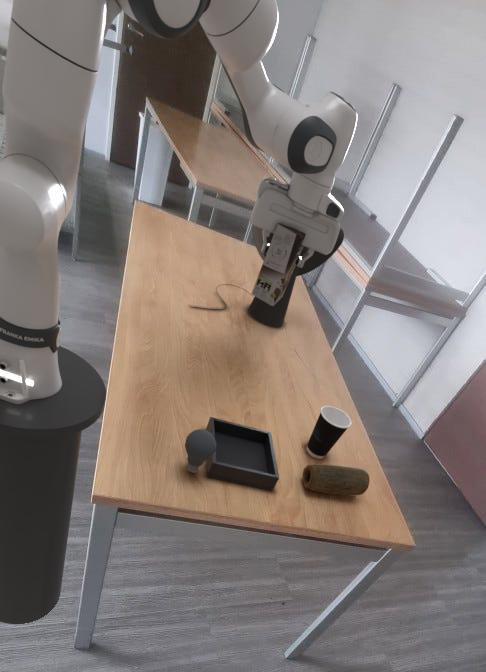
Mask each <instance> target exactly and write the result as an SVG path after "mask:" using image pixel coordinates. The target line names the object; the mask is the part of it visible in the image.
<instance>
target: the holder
mask: <svg viewBox="0 0 486 672" xmlns="http://www.w3.org/2000/svg"><path fill="white" fill-rule="evenodd" d="M205 430H207V431H208V432H210V433H211V434H212V435H213V436H214V438H215V441H216V450H215V453H214V454H213V456H212V457H211V458H209V459H207V460H206V477H207V478H212V479H217V480H220V481H225V482H229V483H233V484H234V483H235V484H239V485H244V486H248V487H252V488H257V489H261V490H267V491H271V492H273V491H274V488H275V487H276V486H277V483H278V481H279V480H280V475H279V469H278V464H277V458H276V453H275V446H274V441H273V437H272V432H271V431H267V430H264V429H259V428H255V427H251V426H248V425H244V424H240V423H236V422H233V421H229V420H225V419H221V418H217V417H213V416H210V417H209V419H208V422H207V425H206V427H205Z"/></svg>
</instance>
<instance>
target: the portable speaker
mask: <svg viewBox="0 0 486 672" xmlns="http://www.w3.org/2000/svg"><path fill="white" fill-rule="evenodd" d="M302 481H303V485H304V487H305V488H306V489H307V490H310V491H312V492H317V493H322V494H323V493H324V494H331V495H341V496H361V495H363V494H365V493H366V492H367V491H368V488H369V486H370V476H369V473H368V472H367V471H366V470H365V469H362V468H357V467H351V466H343V465H334V464H321V463H320V464H317V463H314V464H308V465H306V466H305V467H304V468H303V471H302Z"/></svg>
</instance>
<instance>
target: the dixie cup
mask: <svg viewBox="0 0 486 672" xmlns="http://www.w3.org/2000/svg"><path fill="white" fill-rule="evenodd" d="M352 424H353V423H352V419H351V418H350V416H349V415H348V414H347V413H346V412H345V411H343V410H342V409H340V408H338V407H336V406H332V405H324V406H322V407H321V408H320V413H319V415H318V418H317V420H316V422H315V425H314V427H313V429H312V431H311V434H310V437H309V439H308V441H307V446H306V452H307V453H308V455H310V456H311V457H312V458H315V459H318V460H321V459H324V457H326V456H327V455H328V453H330V451H331V450H332V448H333V447H334V446H335V445H336V443H338V441H339V440H340V439H341V437H342V436H343V435H344V433H345V432H346V431H347V430H348V429H349V428H351V426H352Z"/></svg>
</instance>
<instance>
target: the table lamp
mask: <svg viewBox="0 0 486 672" xmlns="http://www.w3.org/2000/svg"><path fill="white" fill-rule="evenodd" d="M262 231H263V229H261V228H259V227H257V226H254V225H253V224H252V237H253V241H254V245H255V248H256V251H257V253H258V255H259V257H260V258H261V260H262V261H263V262H264V259H265V256H266V254H265V253H263V252H261V249H262V246H263V243H264V242H263V234H262ZM273 235H274V233H270V235H269V237H267V236H266V238H267V243H268V244H270V243H271V240H272V238H273ZM344 238H345V232H344V230H343V229H342V228H341V227H340V231H339V234H338V237H337V240H336V243H335V245H334V248H333V250H332V252H331V253H329V254H328V255H325V254H322V253H320V252H318V251H314V253H313V255H312V256H311V257H310V258H309V259H307V260H306V261H305V262H304V265H303V267H302V268H301V267H298V266H296V265H295V268H294V270H293V273H292V275H291V277H290V280H289V282H288V285H287V287H286V289H285V292H284V294H283V297H282V298H281V299H280V300H279V301H278V302H277V303H276V304H275V305H274V306H271V305H269V304H268V303H266V302H264V301H262V300H261V299H259V298H257V297H255V296H254V295H252V294H251V293H250V292H249V291H247V290H246V289H244V288H243V287H241V286H238V285H234V284H231V286H232V287H236V288H239V289H241V290H243V291H245V292H247V293H248V294H249V295H250V296H251V297H252V301H251V302H250V304H249V307H248V308H247V311H248V314H249V315H250V316H251V317H252V318H253V319H254V320H256V321H257V322H259V323H260V324H263V325H264V326H268V327H271V328H282V326H284V323H285V319H286V315H287V313H288V312H287V311H288V308H289V304H290V300H291V297H292V294H293V292H294V291H293V290H294V286H295V283H296V279H297V277H300V276H303V275H306V274H308V273H310V272H313V271H314V270H316V269H317V268H319V267H320V266H322V265H323V264H324V263H325V262H327V261H328V260H329V259H330V258H331V257H332V256H333V255H334V254H335V253H336V252H337V251H338V250H339V248H340V247H341V246H342V244H343V242H344ZM306 249H307V247H305V246H303V249H302V251H301V253H300V257H302V256H303V255H304V254H305V253H306V252H307V250H306ZM220 286H230V284H227V283H225V284H218V285H217V286H216V288H215V292H216V294H217V295H218V297H219V298H220V300H221V301H222V302H223V304H224V305H225V307H224V308H219V309H218V308H209V310H212V311H222V310H226V308H227V305H226V303H225V301H224V300H223V299H222V298H221V296H220V294H219V293H218V291H217V289H218V287H220ZM194 308H196V309H200V307H198V306H194ZM201 309H203V310H207V308H205V307H201Z"/></svg>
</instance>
